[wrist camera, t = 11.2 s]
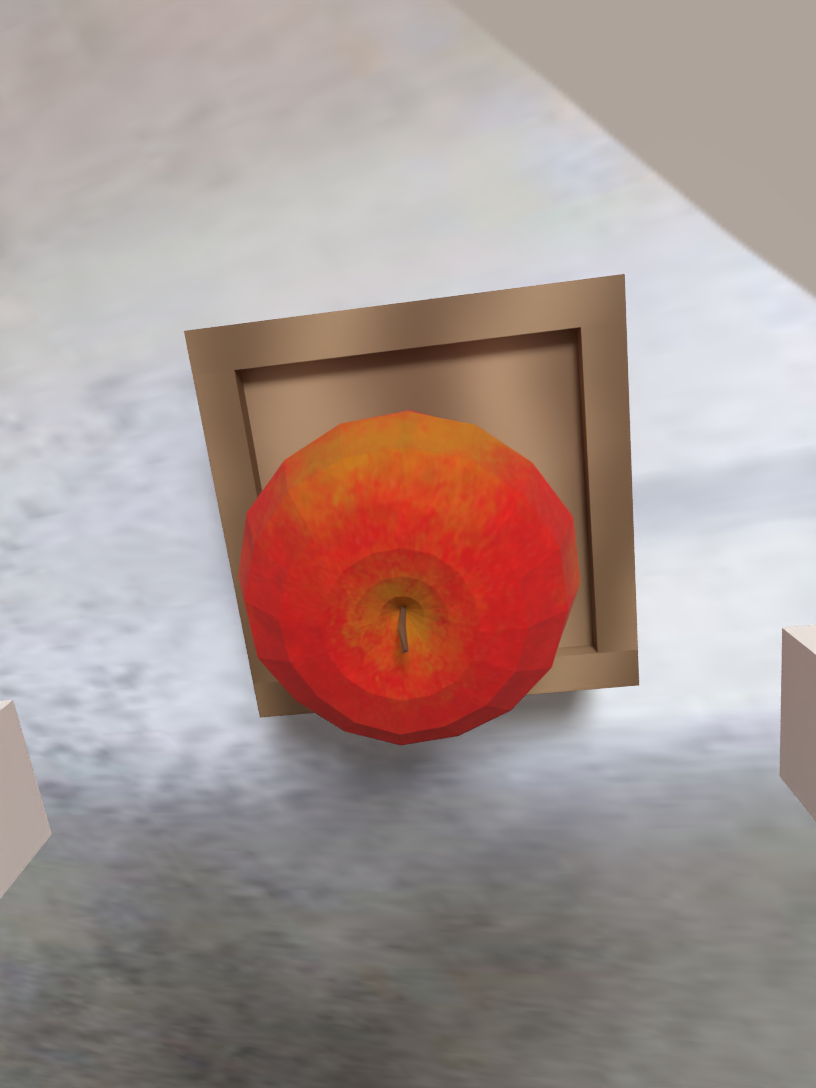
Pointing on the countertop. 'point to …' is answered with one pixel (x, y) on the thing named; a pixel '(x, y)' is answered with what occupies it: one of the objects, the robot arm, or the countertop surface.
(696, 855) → the countertop surface
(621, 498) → the walnut tray
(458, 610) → the apple
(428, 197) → the countertop surface
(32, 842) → the robot arm
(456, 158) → the countertop surface
